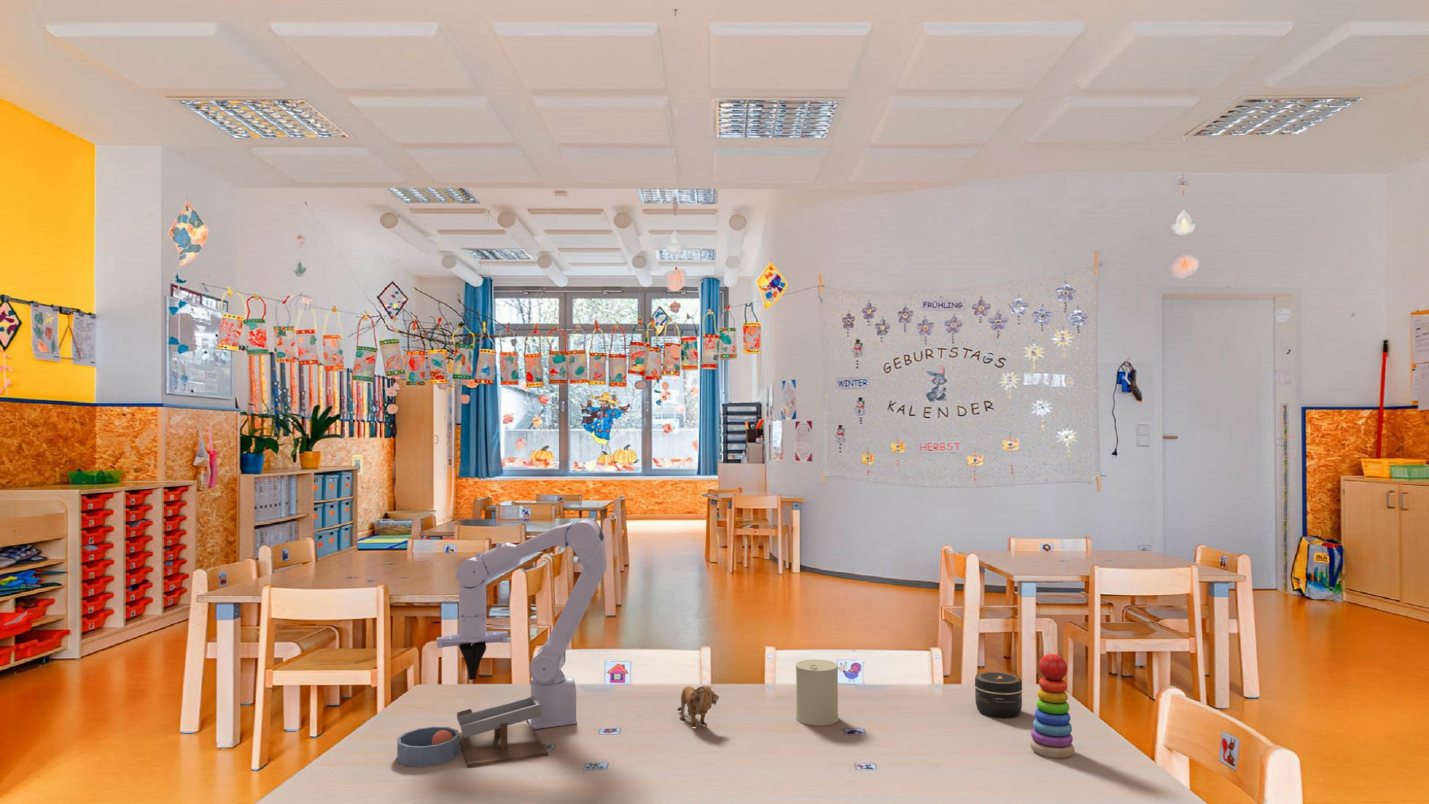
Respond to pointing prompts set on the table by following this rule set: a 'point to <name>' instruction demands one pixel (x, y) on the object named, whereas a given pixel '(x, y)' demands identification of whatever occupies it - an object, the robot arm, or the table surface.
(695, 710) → the lion figurine
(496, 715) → the lever
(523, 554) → the robot arm
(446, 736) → the ball
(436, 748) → the bowl
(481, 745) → the catapult base
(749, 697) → the table surface
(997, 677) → the jar
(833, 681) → the can
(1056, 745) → the stacking toy
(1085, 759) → the table surface
